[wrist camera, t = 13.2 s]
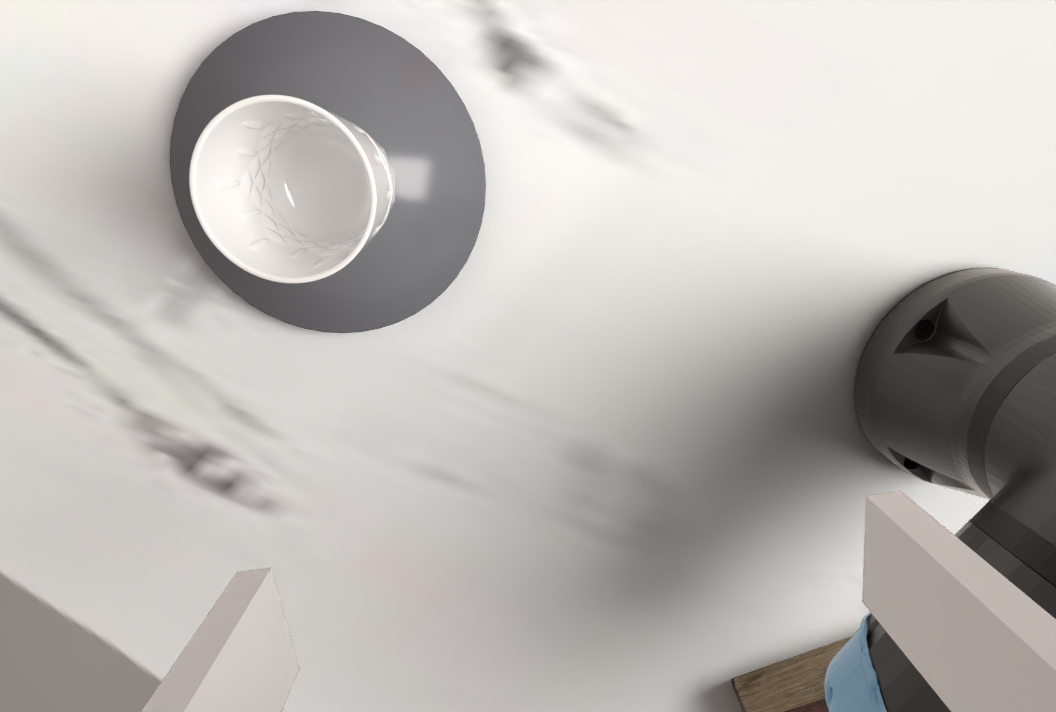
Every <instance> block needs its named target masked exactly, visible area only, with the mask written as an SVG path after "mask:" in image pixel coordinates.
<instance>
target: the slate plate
mask: <svg viewBox="0 0 1056 712" xmlns="http://www.w3.org/2000/svg"><path fill="white" fill-rule="evenodd" d="M260 95H284V96H290V97H295V98H299V99H302V100H305V101H308V102H310V103H312V104H315V105H317V106H319V107H321V108H323V109H325V110H328V111H330V112H332V113H334V114H337V115H339V116H341V117H342V118H344V119H346V120H348V121H349V122H351V123H353V124H355V125H356V126H358V127H359V128H361V129H363V130H364V131H365V132H366V133H367V134H368V135H369V136H371V137H372V138H373V139H374V140H375V141H376V142H377V143H378V144H379V145H380V146H381V147H383V148H384V150H385V152H386V154H387V157H388V159H389V161H390V163H391V166H392V168H393V170H394V172H395V202H394V204H393V206H392V208H391V210H390V212H389V214H388V216H387V219H386V221H385V222H384V224H383V226H382V227H381V228H380V230H379V231H378V232H377V234H376V235H375V236H374V238H373V239H372V240H371V241H370V242H369V243H368V244H367V245H366V246H365V247H364V248H363V249H362V250H361V251H360V252H359V253H358V254H357V255H356V257H355V258H354V259H353V260H352V261H351V262H350V263H348V264H347V265H346V266H345V267H343V268H342V269H341V270H339V271H337V272H336V273H334V274H332V275H330V276H328V277H325V278H322V279H319V280H316V281H312V282H306V283H281V282H275V281H270V280H267V279H263V278H261V277H258V276H255V275H253V274H251V273H249V272H247V271H245V270H243V269H242V268H240V267H238V266H237V265H236V264H234V263H233V262H231V261H230V260H229V259H228V258H227V257H225V256H224V255H223V254H222V253H221V252H220V251H219V250H218V249H217V248H216V246H215V245H214V244H213V243H212V242H211V240H210V239H209V238H208V236H207V235H206V233H205V231H204V230H203V228H202V226H201V224H200V222H199V220H198V218H197V215H196V213H195V210H194V207H193V203H192V199H191V194H190V186H189V171H190V163H191V158H192V154H193V151H194V148H195V145H196V143H197V141H198V139H199V137H200V135H201V133H202V132H203V130H204V129H205V127H206V126H207V125H208V124H209V122H210V121H211V120H212V119H213V118H214V117H215V116H216V115H217V114H219V113H220V112H221V111H223V110H224V109H225V108H227V107H229V106H230V105H232V104H234V103H236V102H238V101H241V100H244V99H247V98H250V97H254V96H260ZM170 166H171V177H172V185H173V189H174V194H175V198H176V203H177V206H178V209H179V212H180V215H181V217H182V220H183V223H184V225H185V227H186V229H187V231H188V233H189V235H190V237H191V239H192V241H193V243H194V245H195V246H196V248H197V249H198V251H199V253H200V254H201V256H202V257H203V259H204V260H205V262H206V263H207V264H208V265H209V266H210V268H211V269H212V270H213V271H214V272H215V274H216V275H217V276H218V277H219V278H220V279H221V280H222V281H223V282H224V283H225V284H226V285H227V286H228V287H229V288H230V289H231V290H232V291H233V292H235V293H236V294H237V295H239V296H240V297H241V298H243V299H244V300H245V301H247V302H248V303H249V304H251V305H252V306H254V307H256V308H258V309H259V310H261V311H263V312H264V313H266V314H268V315H270V316H272V317H275V318H277V319H279V320H281V321H284V322H286V323H289V324H292V325H295V326H299V327H302V328H305V329H311V330H316V331H322V332H334V333H351V332H363V331H368V330H374V329H379V328H382V327H385V326H388V325H391V324H394V323H397V322H400V321H402V320H404V319H406V318H408V317H410V316H412V315H414V314H416V313H417V312H419V311H420V310H422V309H423V308H425V307H426V306H428V305H429V304H430V303H432V302H433V301H434V300H435V299H436V298H437V297H438V296H440V295H441V294H442V293H443V292H444V291H445V290H446V289H447V288H448V286H449V285H450V284H451V283H452V282H453V281H454V279H455V278H456V277H457V276H458V274H459V272H460V271H461V269H462V268H463V266H464V265H465V263H466V262H467V260H468V258H469V256H470V253H471V251H472V249H473V247H474V245H475V242H476V239H477V236H478V233H479V230H480V227H481V223H482V217H483V212H484V206H485V193H486V178H485V164H484V159H483V154H482V149H481V144H480V141H479V138H478V135H477V132H476V129H475V126H474V124H473V122H472V119H471V117H470V115H469V113H468V111H467V109H466V107H465V105H464V103H463V102H462V100H461V98H460V97H459V95H458V94H457V92H456V91H455V89H454V87H453V86H452V84H451V83H450V82H449V81H448V79H447V78H446V77H445V76H444V75H443V73H442V72H441V71H440V70H439V69H438V67H437V66H436V65H435V64H434V63H433V62H431V61H430V60H429V59H428V58H427V57H426V56H425V55H424V54H423V53H422V52H421V51H420V50H418V49H417V48H416V47H414V46H413V45H411V44H410V43H409V42H407V41H406V40H405V39H403V38H402V37H400V36H398V35H396V34H394V33H393V32H391V31H389V30H387V29H385V28H384V27H382V26H379V25H376V24H374V23H371V22H369V21H366V20H364V19H361V18H357V17H353V16H348V15H344V14H340V13H332V12H321V11H308V12H293V13H288V14H283V15H278V16H273V17H270V18H268V19H265V20H262V21H259V22H257V23H254V24H252V25H250V26H248V27H246V28H244V29H243V30H241V31H239V32H237V33H235V34H234V35H232V36H231V37H230V38H228V39H227V40H226V41H225V42H223V43H222V44H221V45H219V46H218V47H217V48H216V49H215V50H214V51H213V52H212V53H211V54H210V55H209V56H208V57H207V58H206V59H205V61H204V62H203V63H202V64H201V66H200V67H199V68H198V70H197V71H196V73H195V74H194V76H193V77H192V78H191V80H190V82H189V84H188V86H187V88H186V90H185V92H184V94H183V96H182V98H181V101H180V104H179V107H178V110H177V113H176V116H175V119H174V125H173V131H172V137H171V150H170Z"/></svg>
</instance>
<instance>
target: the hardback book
mask: <svg viewBox="0 0 1056 712" xmlns="http://www.w3.org/2000/svg"><path fill="white" fill-rule="evenodd" d="M852 637H853V636H852ZM852 637H849V638H846V639H843V640H840V641H837V642H835V643H832V644H829V645H826V646H823V647H820V648H818V649H815V650H812V651H809V652H806V653H803V654H801V655H798V656H795V657H792V658H789V659H786V660H784V661H781V662H778V663H775V664H772V665H769V666H767V667H764V668H761V669H758V670H755V671H752V672H750V673H747V674H744V675H741V676H738V677H735V678H732V684H733V688H734V690H735V693H736V696H737V698H738V701H739V704H740V706H741V709H742V711H743V712H829V709H828V706H827V703H826V699H825V690H824V682H825V675H826V672H827V668H828V666H829V664H830V662H831V660H832V659H833V658H834V657H835V656H836V654H837V653H838V652H839V651H840V650H841V649H842V648H843V647H844V646H845V644H846V643H847V642H848V641H849V640H850V639H851V638H852Z"/></svg>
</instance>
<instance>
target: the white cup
mask: <svg viewBox="0 0 1056 712" xmlns="http://www.w3.org/2000/svg"><path fill="white" fill-rule="evenodd" d="M189 186H190V194H191V199H192V203H193V207H194V210H195V213H196V215H197V218H198V220H199V222H200V224H201V226H202V228H203V230H204V231H205V233H206V235H207V236H208V238H209V239H210V240H211V242H212V243H213V244H214V245H215V246H216V248H217V249H218V250H219V251H220V252H221V253H222V254H223V255H224V256H225V257H227V258H228V259H229V260H230V261H231V262H233V263H234V264H236V265H237V266H238V267H240V268H242V269H243V270H245V271H247V272H249V273H251V274H253V275H255V276H258V277H261V278H263V279H267V280H270V281H275V282H281V283H306V282H312V281H316V280H319V279H322V278H325V277H328V276H330V275H332V274H334V273H336V272H337V271H339V270H341V269H342V268H343V267H345V266H346V265H347V264H348V263H350V262H351V261H352V260H353V259H354V258H355V257H356V255H357V254H358V253H359V252H360V251H361V250H362V249H363V248H364V247H365V246H366V245H367V244H368V243H369V242H370V241H371V240H372V239H373V238H374V236H375V235H376V234H377V232H378V231H379V230H380V228H381V227H382V226H383V224H384V222H385V221H386V219H387V216H388V214H389V212H390V210H391V208H392V206H393V204H394V202H395V172H394V170H393V168H392V166H391V163H390V161H389V159H388V157H387V154H386V152H385V150H384V148H383V147H381V146H380V145H379V144H378V143H377V142H376V141H375V140H374V139H373V138H372V137H371V136H369V135H368V134H367V133H366V132H365V131H364V130H363V129H361V128H359V127H358V126H356V125H355V124H353V123H351V122H349V121H348V120H346V119H344V118H342V117H341V116H339V115H337V114H334V113H332V112H330V111H328V110H325V109H323V108H321V107H319V106H317V105H315V104H312V103H310V102H308V101H305V100H302V99H299V98H295V97H290V96H284V95H260V96H254V97H250V98H247V99H244V100H241V101H238V102H236V103H234V104H232V105H230V106H229V107H227V108H225V109H224V110H223V111H221V112H220V113H219V114H217V115H216V116H215V117H214V118H213V119H212V120H211V121H210V122H209V124H208V125H207V126H206V127H205V129H204V130H203V132H202V133H201V135H200V137H199V139H198V141H197V143H196V145H195V148H194V151H193V154H192V158H191V163H190V171H189Z"/></svg>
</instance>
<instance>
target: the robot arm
mask: <svg viewBox="0 0 1056 712" xmlns="http://www.w3.org/2000/svg"><path fill="white" fill-rule="evenodd" d="M855 406H856V412H857V416H858V419H859V422H860V425H861V427H862V429H863V431H864V433H865V435H866V437H867V438H868V440H869V441H870V442H871V444H872V445H873V446H874V447H875V448H876V449H877V450H878V451H879V452H880V453H881V454H882V455H884V456H885V457H886V458H888V459H889V460H890V461H892V462H893V463H894V464H895V465H897V466H898V467H899V468H901V469H902V470H904V471H905V472H907V473H909V474H911V475H912V476H914V477H917V478H919V479H921V480H924V481H927V482H929V483H933V484H937V485H940V486H944V487H947V488H951V489H955V490H958V491H962V492H965V493H969V494H973V495H976V496H980V497H984V498H987V499H990V500H989V502H988V503H987V504H986V505H985V506H984V507H983V508H982V509H981V510H980V511H979V512H978V513H977V514H976V515H975V516H974V517H973V518H972V519H970V520H969V521H968V522H967V523H966V524H965V525H964V526H963V527H962V528H961V529H960V530H959V531H958V532H957V533H956V534H955V535H953V534H952V533H951V532H950V531H949V530H947V529H946V528H945V527H944V526H943V525H941V524H940V523H939V522H938V521H936V520H935V519H934V518H933V517H932V516H930V515H929V514H928V513H927V512H926V511H924V510H923V509H922V508H921V507H920V506H918V505H917V504H916V503H915V502H914V501H912V500H911V499H910V498H909V497H908V496H906V495H905V494H904V493H903V492H901V491H900V492H892V493H884V494H875V495H867V496H866V513H865V541H864V568H863V596H862V602H863V603H864V604H865V606H866V607H867V608H868V609H869V611H870V613H869V614H867V615H866V616H865V617H864V618H863V620H862V622H861V625H860V629H859V630H858V631H857V632H856V633H855V634H854V636H853V637H852V638H851V639H850V640H849V641H848V642H847V643H846V644H845V646H844V647H843V648H842V649H841V650H840V651H839V652H838V653H837V654H836V656H835V657H834V658H833V659H832V660H831V662H830V664H829V666H828V668H827V672H826V675H825V682H824V690H825V699H826V703H827V706H828V709H829V712H1056V285H1054V284H1052V283H1050V282H1048V281H1045V280H1043V279H1041V278H1038V277H1034V276H1030V275H1026V274H1021V273H1017V272H1013V271H1008V270H1004V269H997V268H976V269H968V270H963V271H959V272H955V273H951V274H948V275H945V276H943V277H940V278H938V279H936V280H933V281H931V282H929V283H928V284H926V285H924V286H922V287H920V288H919V289H917V290H916V291H914V292H913V293H911V294H910V295H909V296H907V297H906V298H905V299H904V300H902V301H901V302H900V303H899V304H898V305H897V306H896V307H895V308H894V309H893V310H892V311H891V312H890V313H889V314H888V315H887V316H886V317H885V318H884V320H883V321H882V322H881V323H880V325H879V326H878V327H877V329H876V330H875V332H874V333H873V335H872V336H871V338H870V340H869V342H868V344H867V346H866V348H865V350H864V352H863V355H862V357H861V360H860V363H859V366H858V370H857V375H856V381H855ZM299 669H300V668H299V664H298V661H297V657H296V654H295V650H294V647H293V643H292V639H291V636H290V632H289V629H288V625H287V622H286V618H285V615H284V611H283V608H282V604H281V600H280V597H279V593H278V590H277V586H276V583H275V579H274V576H273V572H272V569H271V568H266V569H258V570H250V571H242V572H237V573H236V574H235V576H234V577H233V579H232V580H231V582H230V583H229V585H228V586H227V587H226V589H225V590H224V592H223V593H222V595H221V596H220V598H219V599H218V601H217V602H216V604H215V605H214V606H213V608H212V609H211V611H210V612H209V614H208V615H207V617H206V618H205V620H204V621H203V622H202V624H201V625H200V627H199V628H198V630H197V631H196V633H195V634H194V636H193V637H192V639H191V640H190V641H189V643H188V644H187V646H186V647H185V649H184V650H183V652H182V653H181V655H180V656H179V657H178V659H177V660H176V662H175V663H174V665H173V666H172V668H171V669H170V671H169V672H168V674H167V675H166V676H165V678H164V679H163V681H162V682H161V684H160V685H159V687H158V688H157V690H156V691H155V692H154V694H153V696H152V697H151V698H150V700H149V701H148V703H147V704H146V706H145V707H144V709H143V710H142V712H282V709H283V707H284V705H285V702H286V700H287V697H288V695H289V693H290V690H291V688H292V686H293V683H294V681H295V679H296V676H297V674H298V672H299Z"/></svg>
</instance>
